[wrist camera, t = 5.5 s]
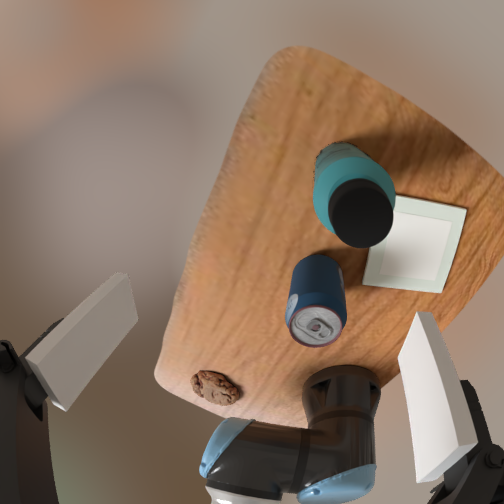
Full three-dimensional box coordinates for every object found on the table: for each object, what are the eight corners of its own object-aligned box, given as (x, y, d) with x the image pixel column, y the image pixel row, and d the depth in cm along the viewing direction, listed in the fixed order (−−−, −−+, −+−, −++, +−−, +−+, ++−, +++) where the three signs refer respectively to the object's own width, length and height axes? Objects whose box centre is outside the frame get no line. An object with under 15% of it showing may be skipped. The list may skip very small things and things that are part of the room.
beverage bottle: (376, 165, 32) (437, 217, 15) (341, 202, 35) (362, 288, 18) (337, 128, 32) (363, 138, 14) (302, 168, 35) (286, 222, 17)
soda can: (283, 273, 42) (269, 328, 31) (316, 240, 38) (314, 289, 28) (318, 301, 42) (315, 360, 32) (352, 272, 39) (361, 327, 29)
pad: (439, 290, 37) (441, 293, 36) (361, 281, 39) (362, 284, 39) (464, 208, 31) (467, 210, 31) (379, 191, 34) (381, 193, 33)
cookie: (233, 404, 59) (229, 415, 56) (189, 386, 59) (184, 396, 57) (247, 382, 54) (243, 393, 51) (197, 362, 54) (192, 372, 52)
